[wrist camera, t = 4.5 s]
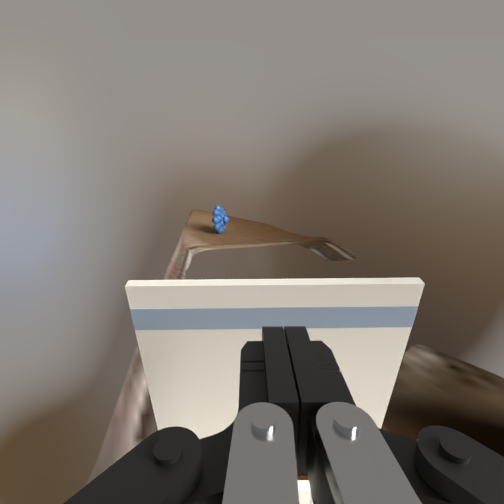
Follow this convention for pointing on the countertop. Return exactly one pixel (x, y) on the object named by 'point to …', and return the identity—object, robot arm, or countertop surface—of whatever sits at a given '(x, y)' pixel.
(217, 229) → the grapes
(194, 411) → the flap
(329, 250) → the countertop surface
